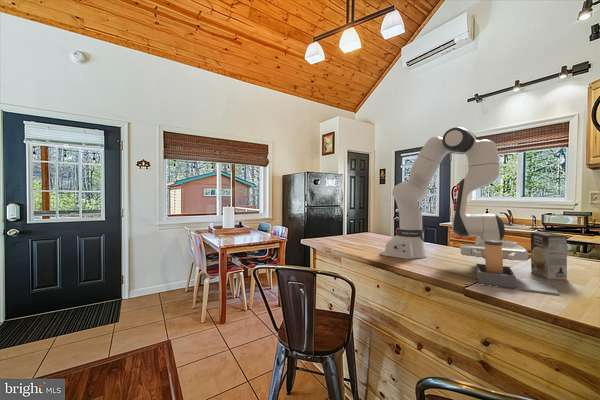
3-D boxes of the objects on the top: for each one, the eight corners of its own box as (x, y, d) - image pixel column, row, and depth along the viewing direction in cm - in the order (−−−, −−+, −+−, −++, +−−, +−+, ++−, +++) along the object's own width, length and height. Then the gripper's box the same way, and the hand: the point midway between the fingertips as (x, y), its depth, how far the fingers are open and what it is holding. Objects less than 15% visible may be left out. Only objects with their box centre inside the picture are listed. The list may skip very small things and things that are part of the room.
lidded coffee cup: (486, 281, 89) (485, 242, 89) (485, 276, 93) (483, 240, 93) (505, 283, 86) (503, 243, 86) (502, 278, 90) (501, 240, 90)
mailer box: (478, 284, 87) (478, 272, 87) (476, 274, 97) (476, 263, 97) (559, 295, 76) (559, 281, 76) (547, 283, 86) (547, 270, 86)
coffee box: (530, 271, 99) (529, 232, 99) (548, 272, 98) (548, 232, 98) (547, 279, 90) (547, 235, 90) (568, 279, 89) (568, 235, 89)
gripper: (459, 239, 106) (459, 245, 94) (522, 242, 95) (531, 250, 83) (459, 253, 106) (460, 261, 94) (522, 259, 95) (532, 268, 83)
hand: (494, 256), depth 89 cm, fingers open, 8 cm apart
